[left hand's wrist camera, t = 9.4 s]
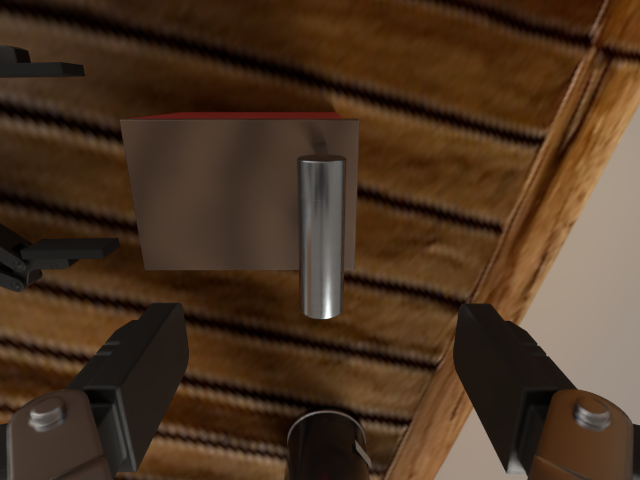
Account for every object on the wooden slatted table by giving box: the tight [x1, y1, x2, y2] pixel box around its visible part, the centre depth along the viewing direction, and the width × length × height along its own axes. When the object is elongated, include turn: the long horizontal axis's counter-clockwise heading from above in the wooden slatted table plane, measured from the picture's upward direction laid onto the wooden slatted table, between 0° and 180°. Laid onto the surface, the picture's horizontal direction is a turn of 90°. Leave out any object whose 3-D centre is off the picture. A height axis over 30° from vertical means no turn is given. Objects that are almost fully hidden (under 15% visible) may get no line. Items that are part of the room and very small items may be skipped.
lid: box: [120, 119, 359, 319], centre depth 22 cm, size 15×10×10 cm
